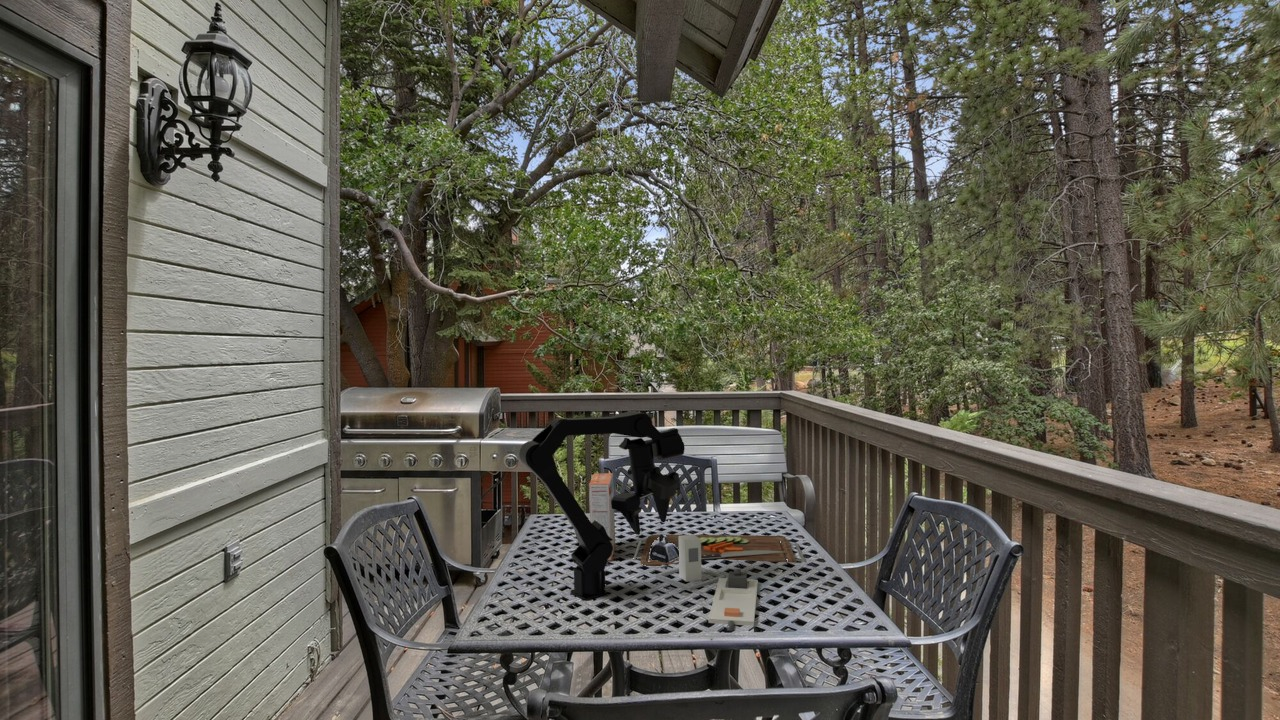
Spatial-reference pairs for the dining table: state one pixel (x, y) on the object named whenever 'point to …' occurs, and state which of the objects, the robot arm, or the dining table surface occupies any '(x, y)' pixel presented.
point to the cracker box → (603, 503)
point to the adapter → (690, 558)
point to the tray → (718, 575)
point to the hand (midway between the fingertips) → (650, 528)
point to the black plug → (737, 579)
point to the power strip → (734, 604)
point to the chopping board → (731, 548)
